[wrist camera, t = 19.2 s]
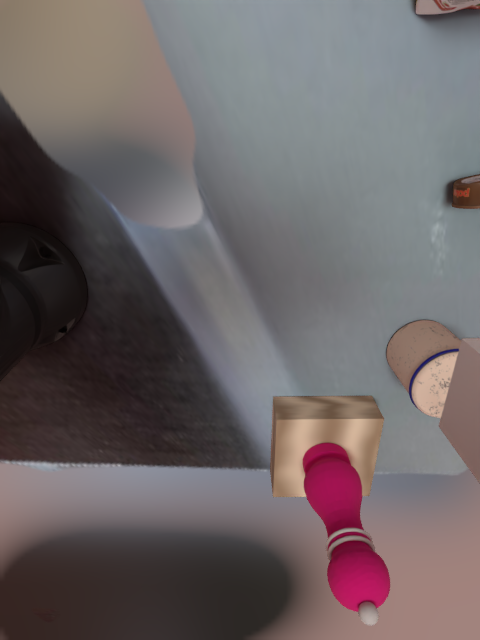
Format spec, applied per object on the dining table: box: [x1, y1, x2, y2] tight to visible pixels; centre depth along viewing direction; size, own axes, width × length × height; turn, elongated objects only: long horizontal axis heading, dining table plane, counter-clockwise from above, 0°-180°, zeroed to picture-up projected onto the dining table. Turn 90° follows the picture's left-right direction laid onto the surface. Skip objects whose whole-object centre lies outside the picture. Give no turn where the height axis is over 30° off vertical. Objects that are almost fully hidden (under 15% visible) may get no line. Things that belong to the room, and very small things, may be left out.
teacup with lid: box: [387, 320, 461, 418], centre depth 46 cm, size 12×9×12 cm
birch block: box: [270, 396, 384, 497], centre depth 55 cm, size 14×14×5 cm
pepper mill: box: [303, 443, 390, 625], centre depth 44 cm, size 7×7×20 cm
